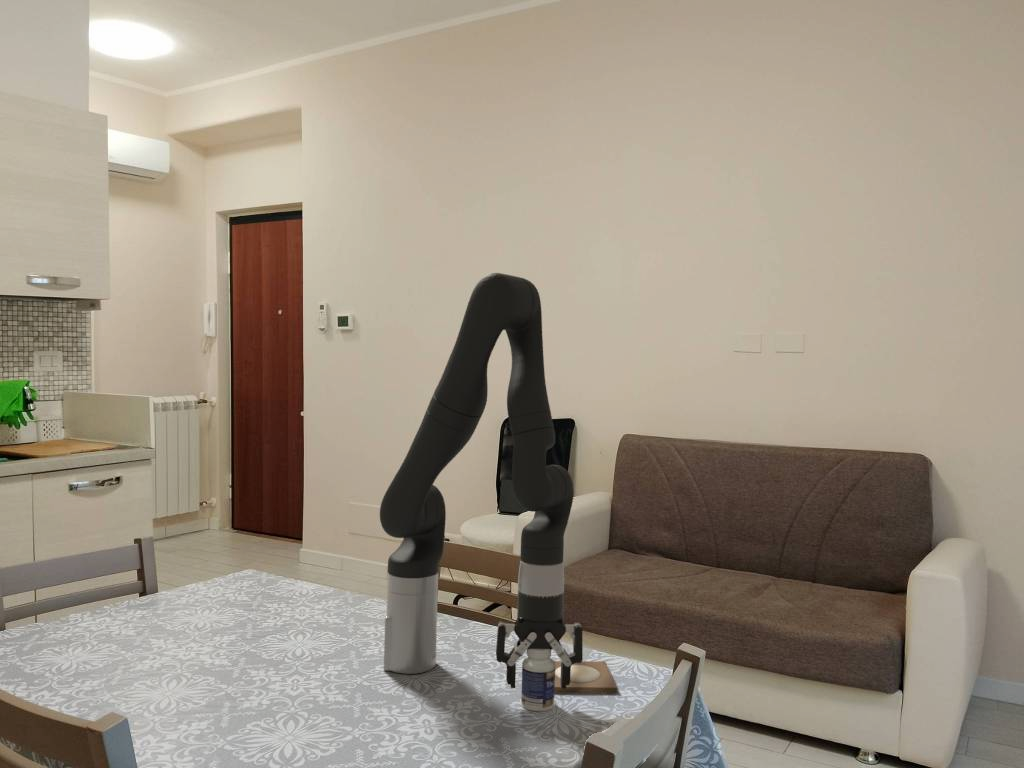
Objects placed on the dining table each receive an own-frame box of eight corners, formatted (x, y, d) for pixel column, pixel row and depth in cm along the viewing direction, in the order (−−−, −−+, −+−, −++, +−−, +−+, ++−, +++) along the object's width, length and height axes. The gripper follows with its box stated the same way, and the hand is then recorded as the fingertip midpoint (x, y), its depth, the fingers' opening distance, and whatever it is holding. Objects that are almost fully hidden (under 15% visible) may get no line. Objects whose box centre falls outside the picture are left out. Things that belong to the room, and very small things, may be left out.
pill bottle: (551, 714, 128) (553, 653, 127) (518, 710, 129) (520, 650, 129) (556, 700, 133) (557, 642, 133) (524, 697, 134) (526, 639, 134)
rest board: (546, 692, 136) (547, 686, 136) (540, 666, 148) (540, 660, 148) (616, 693, 137) (617, 686, 137) (605, 666, 149) (605, 661, 149)
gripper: (498, 593, 126) (495, 696, 127) (587, 595, 127) (584, 696, 127) (496, 581, 134) (493, 677, 134) (581, 582, 135) (578, 678, 135)
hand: (538, 686), depth 131 cm, fingers open, 8 cm apart
